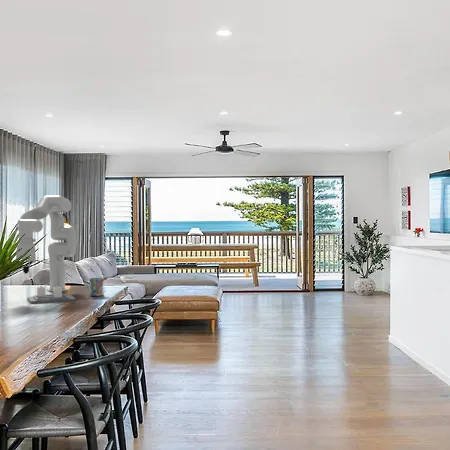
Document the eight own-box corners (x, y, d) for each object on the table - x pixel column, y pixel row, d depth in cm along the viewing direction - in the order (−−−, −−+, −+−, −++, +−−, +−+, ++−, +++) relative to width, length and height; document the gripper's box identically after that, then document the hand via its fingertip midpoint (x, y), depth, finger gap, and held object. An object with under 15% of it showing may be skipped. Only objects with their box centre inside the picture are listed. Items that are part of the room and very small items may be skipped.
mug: (89, 295, 320) (89, 277, 320) (105, 294, 322) (105, 277, 322) (87, 297, 309) (87, 280, 308) (103, 297, 310) (103, 279, 310)
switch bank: (27, 299, 302) (27, 295, 302) (69, 296, 313) (69, 292, 313) (30, 304, 286) (30, 299, 286) (75, 300, 297) (75, 296, 297)
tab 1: (37, 297, 302) (37, 285, 302) (44, 296, 303) (44, 284, 303) (37, 297, 298) (37, 286, 298) (45, 297, 300) (45, 285, 300)
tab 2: (53, 297, 298) (53, 286, 298) (60, 297, 300) (60, 285, 300) (54, 298, 295) (54, 286, 294) (61, 298, 296) (61, 286, 296)
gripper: (38, 240, 303) (38, 272, 303) (11, 241, 297) (11, 273, 297) (40, 241, 297) (40, 273, 297) (12, 241, 290) (12, 274, 290)
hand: (26, 273), depth 297 cm, fingers closed
